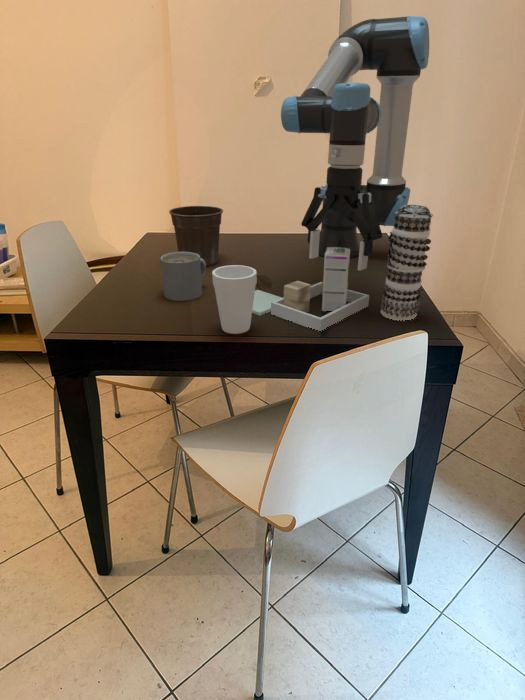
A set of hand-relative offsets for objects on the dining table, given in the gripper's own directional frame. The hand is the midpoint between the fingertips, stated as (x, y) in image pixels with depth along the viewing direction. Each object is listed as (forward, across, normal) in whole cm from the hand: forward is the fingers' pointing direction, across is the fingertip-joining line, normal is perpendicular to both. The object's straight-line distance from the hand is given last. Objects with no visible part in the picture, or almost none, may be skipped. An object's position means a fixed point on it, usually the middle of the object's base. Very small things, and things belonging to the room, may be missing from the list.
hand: (336, 263), depth 109 cm
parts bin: (+12, -2, -3) cm, 12 cm away
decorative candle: (+12, +13, +8) cm, 19 cm away
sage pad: (+12, -16, -10) cm, 22 cm away
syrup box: (+12, 0, 0) cm, 12 cm away
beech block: (+12, -5, -8) cm, 15 cm away
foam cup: (+12, -10, -24) cm, 29 cm away
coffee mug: (+12, -35, -17) cm, 40 cm away
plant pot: (+11, -54, +3) cm, 55 cm away
